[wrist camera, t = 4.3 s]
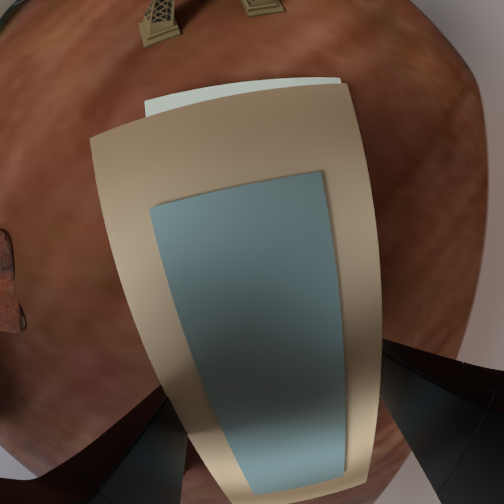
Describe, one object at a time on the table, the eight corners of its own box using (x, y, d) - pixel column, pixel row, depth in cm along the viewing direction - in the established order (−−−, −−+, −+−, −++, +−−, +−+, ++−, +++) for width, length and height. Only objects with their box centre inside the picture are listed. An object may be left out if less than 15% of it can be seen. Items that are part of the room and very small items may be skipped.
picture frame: (348, 441, 11) (367, 485, 8) (235, 465, 11) (237, 513, 8) (313, 114, 8) (350, 80, 5) (133, 153, 8) (85, 136, 5)
